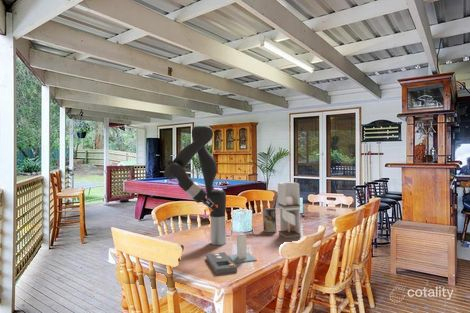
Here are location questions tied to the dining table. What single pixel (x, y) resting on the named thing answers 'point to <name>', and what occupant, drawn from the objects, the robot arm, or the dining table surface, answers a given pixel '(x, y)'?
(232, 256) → the mat
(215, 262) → the power strip
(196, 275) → the dining table surface
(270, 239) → the dining table surface
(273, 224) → the coffee box
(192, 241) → the dining table surface
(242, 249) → the white tall rectangular block
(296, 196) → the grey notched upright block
